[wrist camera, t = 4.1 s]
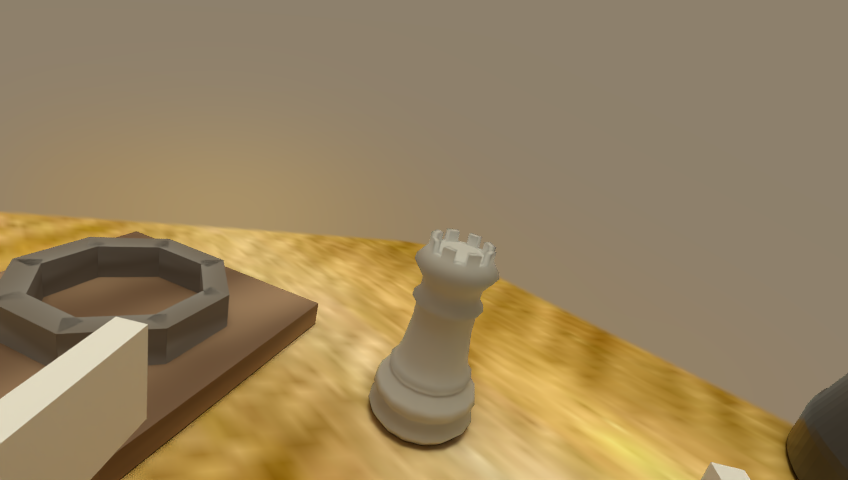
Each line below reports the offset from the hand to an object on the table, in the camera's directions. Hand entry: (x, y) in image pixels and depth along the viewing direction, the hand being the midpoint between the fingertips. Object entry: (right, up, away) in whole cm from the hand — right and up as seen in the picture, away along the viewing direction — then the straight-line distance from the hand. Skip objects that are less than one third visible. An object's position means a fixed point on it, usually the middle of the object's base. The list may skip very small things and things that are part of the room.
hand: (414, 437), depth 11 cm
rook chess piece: (0, -3, +10) cm, 10 cm away
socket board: (-13, 0, +10) cm, 16 cm away
